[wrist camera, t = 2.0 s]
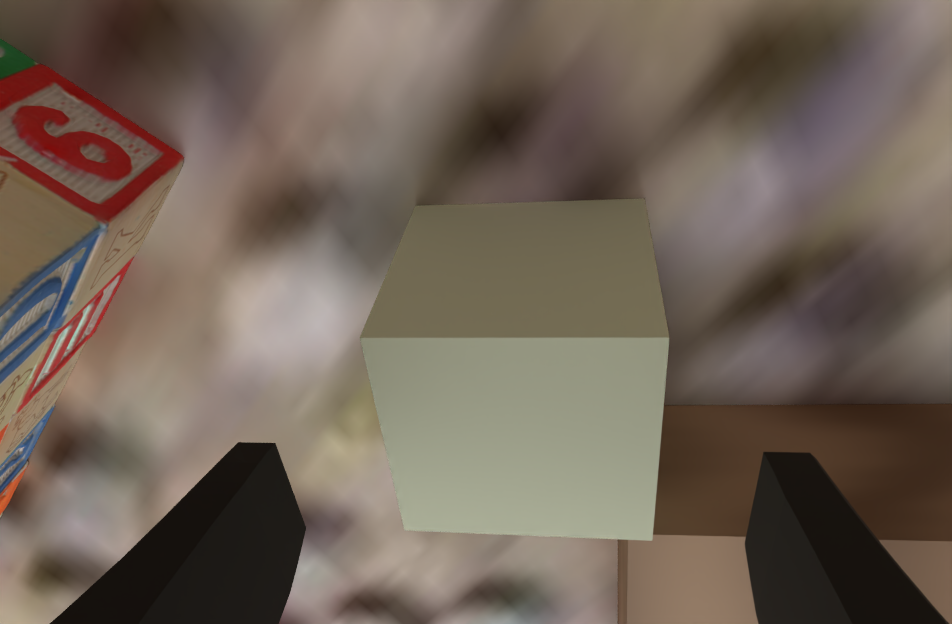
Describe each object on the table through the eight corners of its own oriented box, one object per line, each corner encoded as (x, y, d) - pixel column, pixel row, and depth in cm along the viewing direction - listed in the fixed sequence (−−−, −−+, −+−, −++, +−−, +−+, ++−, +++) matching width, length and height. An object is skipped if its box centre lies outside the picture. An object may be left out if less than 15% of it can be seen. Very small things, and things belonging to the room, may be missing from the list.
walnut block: (1086, 391, 15) (1226, 547, 12) (957, 643, 21) (1029, 796, 17) (617, 395, 17) (628, 534, 13) (617, 628, 22) (624, 766, 19)
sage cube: (644, 196, 13) (669, 337, 10) (635, 375, 16) (652, 540, 12) (416, 203, 14) (359, 338, 10) (442, 374, 17) (404, 530, 13)
